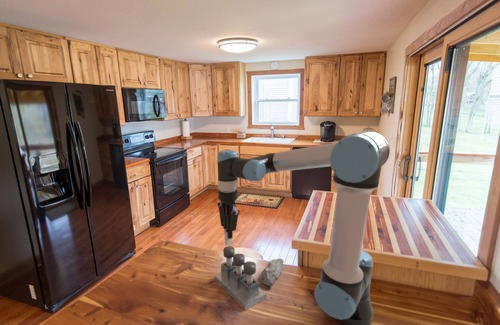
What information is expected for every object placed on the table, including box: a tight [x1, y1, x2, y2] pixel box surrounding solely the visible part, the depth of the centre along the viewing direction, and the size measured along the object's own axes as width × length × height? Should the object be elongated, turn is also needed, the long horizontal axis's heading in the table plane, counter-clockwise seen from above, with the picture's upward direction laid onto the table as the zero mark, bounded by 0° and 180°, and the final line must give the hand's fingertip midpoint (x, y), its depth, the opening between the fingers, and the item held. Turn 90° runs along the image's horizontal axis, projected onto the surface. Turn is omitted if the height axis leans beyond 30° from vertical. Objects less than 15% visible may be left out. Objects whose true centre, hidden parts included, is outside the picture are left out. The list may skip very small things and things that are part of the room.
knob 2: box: [232, 253, 246, 276], centre depth 104 cm, size 5×5×10 cm
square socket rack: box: [214, 260, 267, 311], centre depth 105 cm, size 22×10×7 cm, turn 38°
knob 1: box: [222, 245, 236, 268], centre depth 109 cm, size 5×5×10 cm
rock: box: [259, 258, 284, 287], centre depth 113 cm, size 16×7×7 cm, turn 154°
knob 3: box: [242, 261, 257, 286], centre depth 98 cm, size 5×5×10 cm
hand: (228, 244), depth 108 cm, fingers closed
